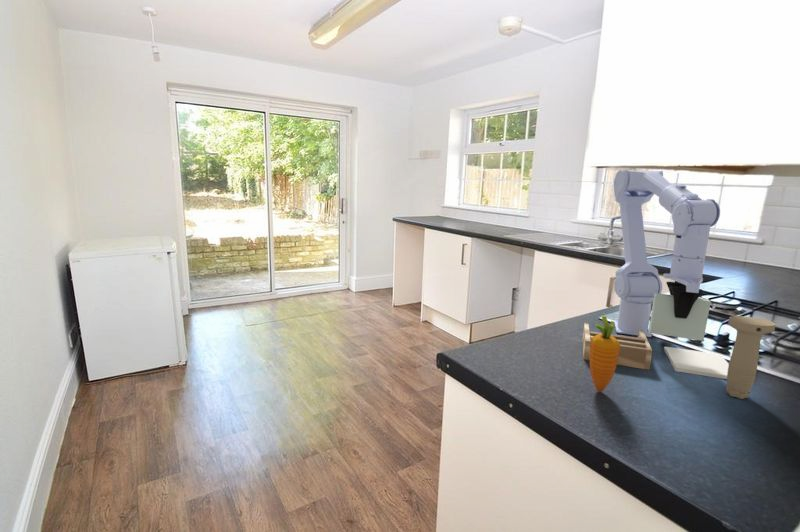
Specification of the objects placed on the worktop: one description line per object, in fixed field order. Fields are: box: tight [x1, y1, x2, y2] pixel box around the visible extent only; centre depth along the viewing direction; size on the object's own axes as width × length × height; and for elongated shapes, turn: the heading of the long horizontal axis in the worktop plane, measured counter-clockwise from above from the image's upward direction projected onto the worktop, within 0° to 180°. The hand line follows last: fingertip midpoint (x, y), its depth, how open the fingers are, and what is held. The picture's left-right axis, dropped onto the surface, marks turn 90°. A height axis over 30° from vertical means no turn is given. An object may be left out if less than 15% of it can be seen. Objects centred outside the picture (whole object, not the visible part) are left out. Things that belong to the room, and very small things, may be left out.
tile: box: [663, 345, 729, 380], centre depth 88 cm, size 12×11×1 cm
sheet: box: [648, 293, 712, 342], centre depth 88 cm, size 2×10×9 cm, turn 66°
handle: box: [725, 315, 777, 400], centre depth 73 cm, size 5×6×15 cm
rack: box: [582, 322, 653, 371], centre depth 92 cm, size 12×13×6 cm
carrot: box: [588, 315, 620, 393], centre depth 74 cm, size 5×5×15 cm
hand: (679, 315), depth 88 cm, fingers closed on sheet, 2 cm apart
